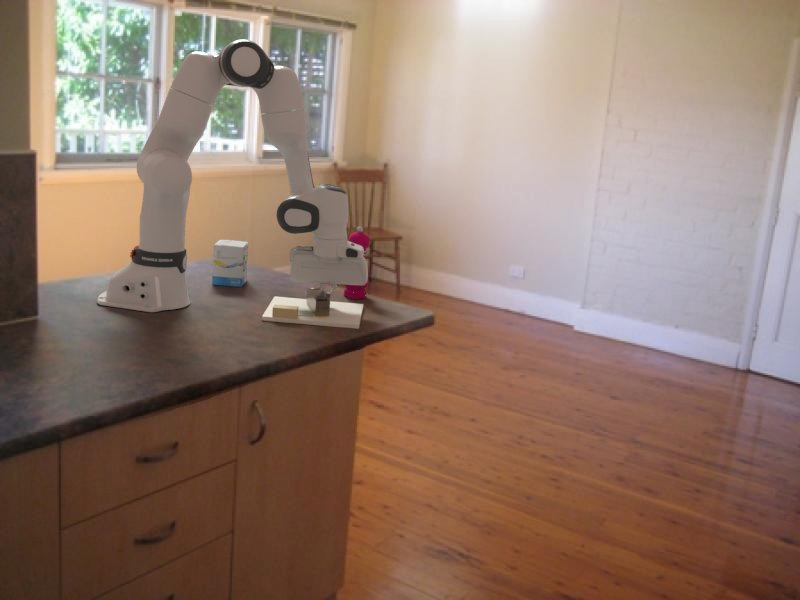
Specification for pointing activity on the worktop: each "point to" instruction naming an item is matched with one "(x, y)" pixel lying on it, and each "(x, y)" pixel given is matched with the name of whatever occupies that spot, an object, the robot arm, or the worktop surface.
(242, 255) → the ink box
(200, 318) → the worktop surface
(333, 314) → the latch board
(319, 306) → the bar
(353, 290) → the pepper mill
